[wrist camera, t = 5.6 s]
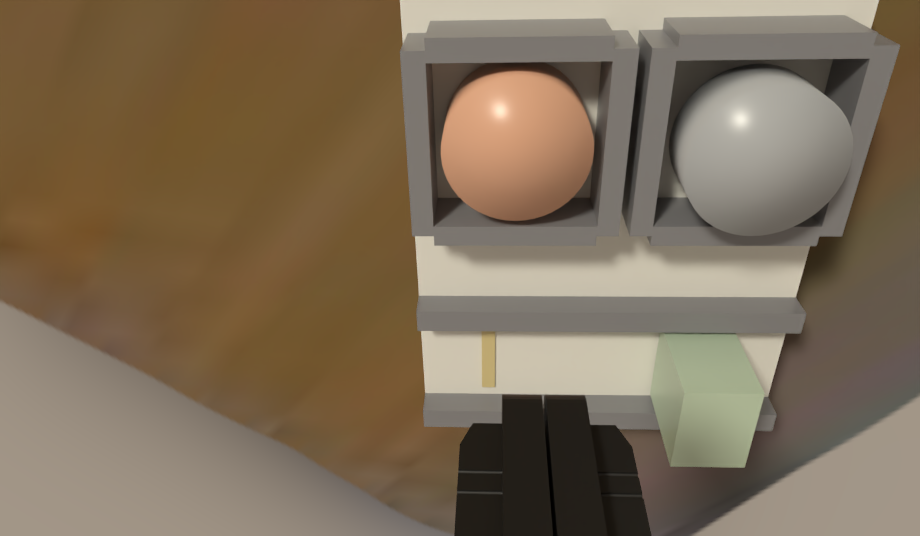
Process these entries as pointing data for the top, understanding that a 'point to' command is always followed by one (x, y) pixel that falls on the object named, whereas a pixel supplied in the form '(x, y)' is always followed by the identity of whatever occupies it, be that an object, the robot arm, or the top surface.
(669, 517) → the top surface
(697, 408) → the sage slider
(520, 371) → the panel
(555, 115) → the terracotta button
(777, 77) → the grey button
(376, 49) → the top surface
